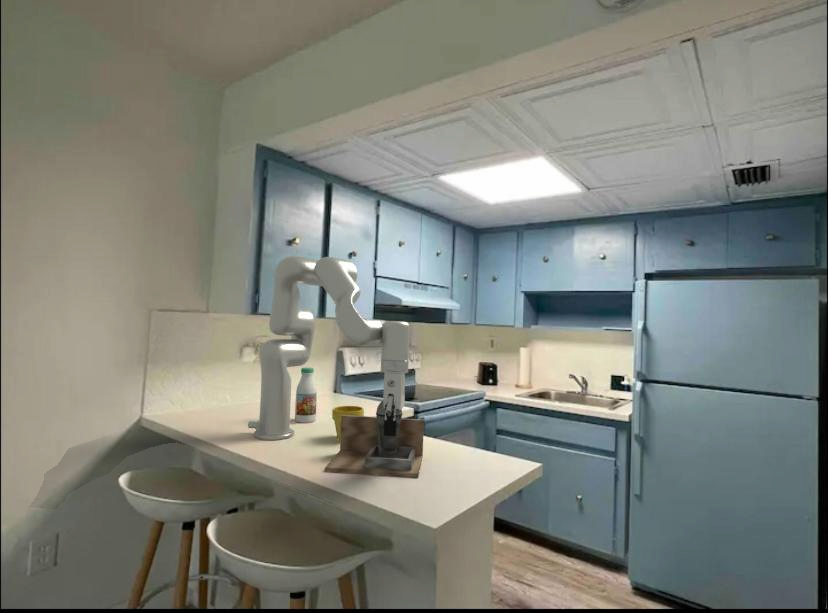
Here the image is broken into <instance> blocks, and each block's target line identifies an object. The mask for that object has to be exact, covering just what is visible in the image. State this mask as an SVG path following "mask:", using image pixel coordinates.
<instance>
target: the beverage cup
mask: <svg viewBox="0 0 828 613" xmlns="http://www.w3.org/2000/svg"><path fill="white" fill-rule="evenodd" d="M393 401H394V399H393ZM385 407H386V405H385ZM385 409H386V408H385ZM385 409H384V408H383V400H382V401H380V403H378V406H377V407H376V412H375V417H377V422H378V447H379V457H382V458H395V457H396V451H397V444H398V436H399V428H400V422H401V418H402V416H403V408H402V409H401V410H400V411H399V409H397V410H396V420H395V421H397V423H396V436H385V435H384V420H385V412H386V410H385ZM392 409H395V407H392ZM393 413H394V412H393Z"/></svg>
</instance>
